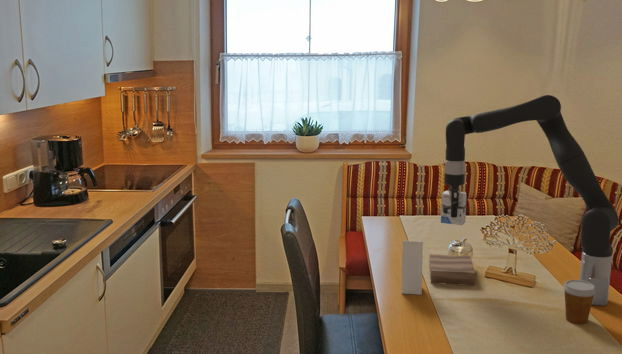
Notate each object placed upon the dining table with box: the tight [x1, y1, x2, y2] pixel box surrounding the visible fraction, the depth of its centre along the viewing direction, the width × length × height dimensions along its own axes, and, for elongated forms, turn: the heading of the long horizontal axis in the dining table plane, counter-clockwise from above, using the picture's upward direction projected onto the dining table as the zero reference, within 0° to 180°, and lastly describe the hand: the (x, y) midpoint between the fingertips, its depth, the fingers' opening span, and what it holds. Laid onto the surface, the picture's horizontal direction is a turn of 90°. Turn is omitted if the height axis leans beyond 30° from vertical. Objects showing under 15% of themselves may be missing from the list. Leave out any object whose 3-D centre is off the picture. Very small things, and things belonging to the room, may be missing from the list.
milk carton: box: [401, 240, 424, 296], centre depth 206 cm, size 7×7×19 cm
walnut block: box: [429, 254, 476, 286], centre depth 221 cm, size 18×16×5 cm
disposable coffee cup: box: [562, 279, 596, 325], centre depth 182 cm, size 10×10×12 cm
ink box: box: [440, 190, 467, 226], centre depth 216 cm, size 8×5×12 cm, turn 62°
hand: (453, 214), depth 217 cm, fingers closed on ink box, 6 cm apart
